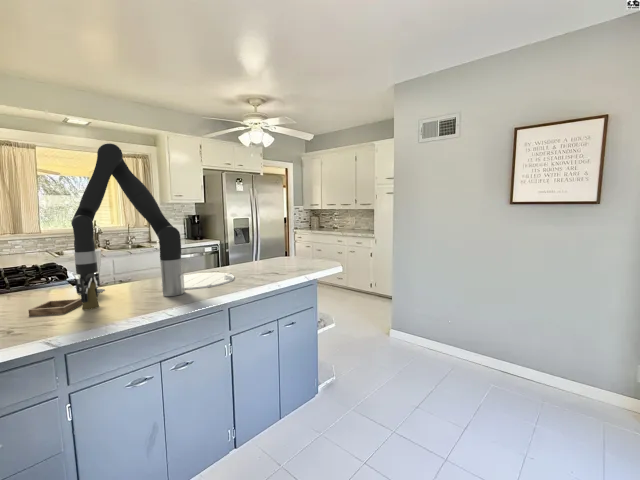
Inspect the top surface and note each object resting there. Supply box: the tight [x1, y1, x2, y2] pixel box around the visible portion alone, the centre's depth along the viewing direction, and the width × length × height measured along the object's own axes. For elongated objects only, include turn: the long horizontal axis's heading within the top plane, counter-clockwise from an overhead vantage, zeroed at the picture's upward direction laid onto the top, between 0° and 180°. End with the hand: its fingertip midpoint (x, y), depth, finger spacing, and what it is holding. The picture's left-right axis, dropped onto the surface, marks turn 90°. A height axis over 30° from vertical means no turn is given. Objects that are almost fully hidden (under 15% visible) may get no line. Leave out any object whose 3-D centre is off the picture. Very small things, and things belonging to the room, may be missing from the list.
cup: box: [73, 248, 106, 296], centre depth 167 cm, size 12×12×22 cm
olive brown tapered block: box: [81, 282, 100, 311], centre depth 140 cm, size 6×6×11 cm
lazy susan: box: [161, 272, 235, 290], centre depth 188 cm, size 40×39×3 cm
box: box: [28, 298, 83, 317], centre depth 139 cm, size 13×13×2 cm
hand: (90, 299), depth 141 cm, fingers open, 7 cm apart
